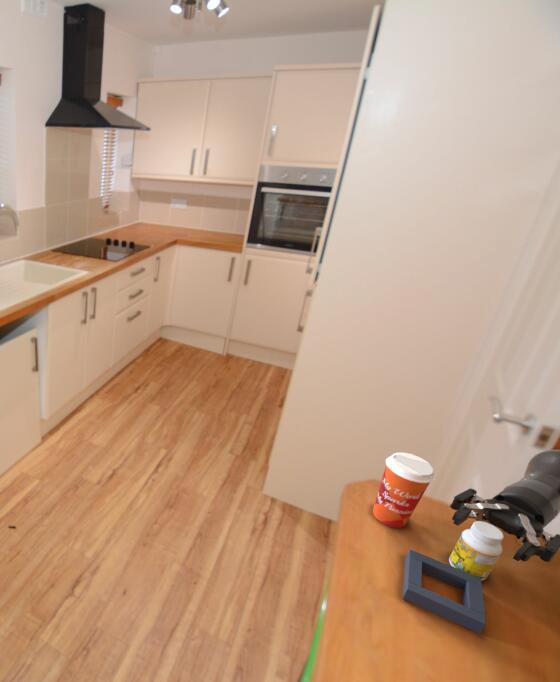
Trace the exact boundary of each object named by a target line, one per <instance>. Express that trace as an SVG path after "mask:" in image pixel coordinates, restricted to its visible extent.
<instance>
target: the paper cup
mask: <svg viewBox="0 0 560 682" xmlns="http://www.w3.org/2000/svg"><path fill="white" fill-rule="evenodd" d="M385 464H386V465H385V468H384V471H383V473H382V478H381V482H380V485H379V489H378V491H377V495H376V499H375V502H374V505H373V509H372V514H373V516H374V517H375V518H376V519H377V520H378V521H379V522H381V523H382V524H383V525H385V526H387V527H391V528H396V529H401V528H403V527H405V526H406V525H407V523H408V522H409V519H410V518H411V516H412V514H413V513H414V511H415V510H416V508H417V506H418V505H419V503H420V501H421V499H422V497H423V495H424V494H425V492H426V491H427V489H428V487H429V485H430V484H431V483H433V482H435V481H436V478H437V476H436V473H435V470H434V467H433V466H432V465H431V464H430V463H429V462H428V461H427V460H425V459H424V458H422V457H420V456H418V455H415V454H413V453H409V452H404V451H403V452H402V451H401V452H399V451H398V452H394V453H393V454H392V455H390V456H388V457H387V458H386V459H385Z"/></svg>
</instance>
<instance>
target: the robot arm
mask: <svg viewBox="0 0 560 682" xmlns="http://www.w3.org/2000/svg"><path fill="white" fill-rule="evenodd" d="M477 493H478V491H477V490H476V489H475V488H468V489H466V490H464V491H462V492H460V493H459V494H456V495H455V496H454V497H453V500H452V501H451V503H450V505H449V507H450V509H452V510H454V513H453V515H452V516H451V520H452V521H453V522H452V524H453V525H456V526H457V527H459V526H460V525H462V524H463V523H464V522H466V521H467V520H468V519H474V520H475V522H476V521H482V522H486V523H488V524H491V525H493V526H495V527H496V528H498V529H499V530H502V531H503V532H505V533H507V534H508V535H509V536H510V535H511V536H513V537H514V539H515V541H516V543H517V545H518V546H520V547H519V548H518V549H517V550H516V552H515V553H514V555H513V557H512V559H513V560H515V561H516V562H520V561H522V562H528V561H529V560H530V559H531V558H532V557H534V556H536V557H539V559H540V560H542V561H543V562H545V563H550V562H551V561H552V559H553V558H554V557H555V555H557V553H558V551H559V550H560V534H559V533H556V534H555V535H553V534H550V533H548V532H547V531H544V528H545V527H547V526H548V525H549V524H550V523H551V522H552V521H553V520H555V519H556V518H557V517H558V515H559V514H560V449H548V450H544V451H540V452H539V453H537V454H535V455H534V456H533V457H532V458H531V459H530V460H529V461H528V463H527V466H526V469H525V472H524V475H523V477H522V478H520V479H519V480H518V481H516V482H513V483H512V484H511V483H510V485H507V486H506V487H504V488H503V490H501V491H500V492H499V493H497V494H496V495H494V496H493V497H492V498H485V499H484V498H483V497H481V496H479V495H477ZM538 538H541V539H542V542H543V543H544V544H543V545H541V543H540V541H539V540H538Z"/></svg>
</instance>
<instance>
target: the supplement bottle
mask: <svg viewBox="0 0 560 682" xmlns="http://www.w3.org/2000/svg"><path fill="white" fill-rule="evenodd" d="M504 537H505V536H504V533H503V532H502V531H501V529H500V528H498V527H496V526H494V525H492V524H490V523H489V522H482V521H476V520H475V521H474V522H473V523H472V525H471V526H470V528H466V529H464V530H463V531H462V532H461V534H460V536H459V538H458V540H457V542H456V544H455V545H454V548H453V550H452V552H451V553H450V555H449V558H448V561H449V565H450V566H452V567H455V568H457V569H459V570H462V571H464V572H467V573H469V574H472V575H474V576H476V577H479V578H481V581H485V580H486V579H487V578H488V577H489V575H490V573H491V572H492V570H493V568H494V567H495V565H496V563H497V562H498V560H499V558H500V557H501V554H502V553H503V546H502V544H501V543H502V542H503V540H504Z"/></svg>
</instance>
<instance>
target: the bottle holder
mask: <svg viewBox="0 0 560 682" xmlns="http://www.w3.org/2000/svg"><path fill="white" fill-rule="evenodd" d="M423 575H426V576H428V577H431V578H433V579H436V580H438V581H440V582H442V583H444V584H447V585H449V586H452V587H454V588H456V589H459V590H461V595H462V604H461V603H459V602H457V601H454V600H451V599H449V598H447V597H445V596H443V595H441V594H438V593H436V592H434V591H432V590H429V589H428V588H426V587H422V586H423ZM482 582H483V580H481V578H479V577H476V576H474V575H472V574H469V573H467V572H464V571H462V570H459V569H457V568H455V567H452V566H451V564H447V563H444V562H443V561H440V560H438V559H435V558H432V557H430V556H428V555H425V554H423V553H420V552H418V551H415V550H413V549H408V551H407V554H406V556H405V558H404V570H403V584H402V585H403V587H402V599H403V600H405V601H407V602H410V603H411V604H413V605H416V606H418V607H420V608H422V609H424V610H427V611H429V612H431V613H432V614H435V615H438V616H439V617H441V618H444V619H446V620H448V621H450V622H452V623H455V624H457V625H459V626H461V627H464V628H466V629H467V630H469V631H472V632H474V633H476V634H478V635H480V634H481V633H482V631H483V630H484V628H485V627H486V626H487V621H486V610H485V601H484V591H483V583H482Z"/></svg>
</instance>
